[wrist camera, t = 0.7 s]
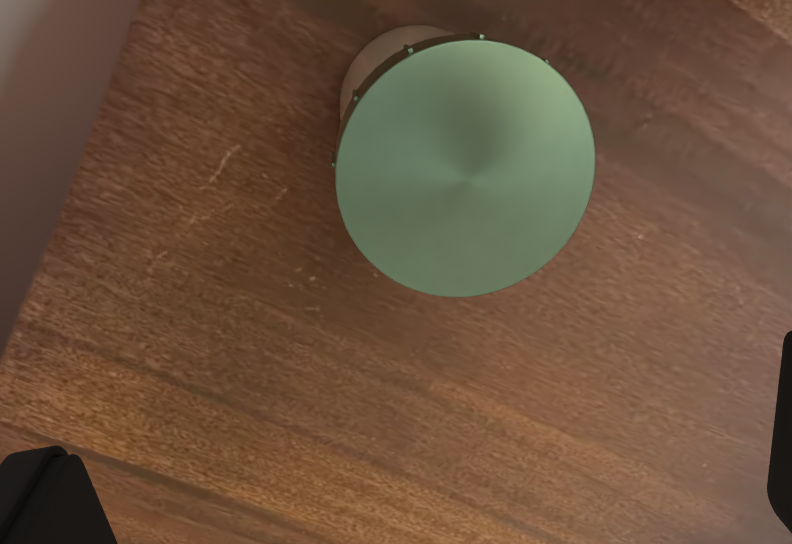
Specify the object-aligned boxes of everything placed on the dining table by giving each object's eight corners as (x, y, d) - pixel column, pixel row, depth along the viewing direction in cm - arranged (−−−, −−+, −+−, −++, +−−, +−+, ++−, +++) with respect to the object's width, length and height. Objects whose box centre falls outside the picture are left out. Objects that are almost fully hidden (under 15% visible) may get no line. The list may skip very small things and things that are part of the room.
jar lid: (382, -6, 17) (388, -5, 15) (613, 85, 18) (642, 96, 17) (303, 233, 19) (301, 257, 18) (514, 297, 21) (530, 325, 19)
